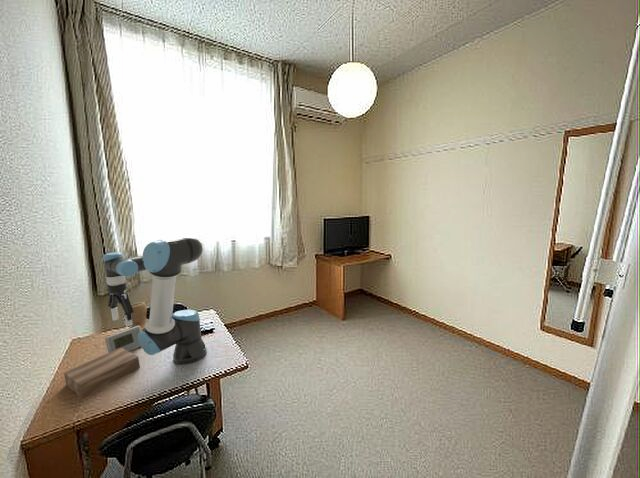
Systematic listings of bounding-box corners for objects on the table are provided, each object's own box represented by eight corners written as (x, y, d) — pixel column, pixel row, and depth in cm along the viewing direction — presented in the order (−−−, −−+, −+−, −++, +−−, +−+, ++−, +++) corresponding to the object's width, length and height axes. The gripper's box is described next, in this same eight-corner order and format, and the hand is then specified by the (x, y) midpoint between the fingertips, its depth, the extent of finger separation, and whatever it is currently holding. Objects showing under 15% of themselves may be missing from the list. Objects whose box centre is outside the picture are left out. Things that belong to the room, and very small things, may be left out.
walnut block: (139, 368, 131) (138, 356, 130) (82, 398, 112) (80, 384, 111) (122, 358, 139) (120, 347, 138) (66, 385, 120) (63, 372, 119)
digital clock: (109, 360, 138) (105, 340, 136) (106, 353, 144) (103, 334, 143) (146, 347, 149) (144, 329, 147) (142, 341, 155) (140, 323, 153)
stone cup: (136, 322, 179) (133, 299, 176) (156, 321, 179) (153, 299, 176) (121, 334, 164) (117, 310, 161) (142, 333, 164) (139, 309, 162)
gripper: (138, 285, 137) (143, 325, 141) (112, 277, 149) (118, 314, 153) (121, 289, 131) (127, 331, 135) (96, 281, 143) (102, 320, 147)
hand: (122, 322), depth 144 cm, fingers open, 13 cm apart
